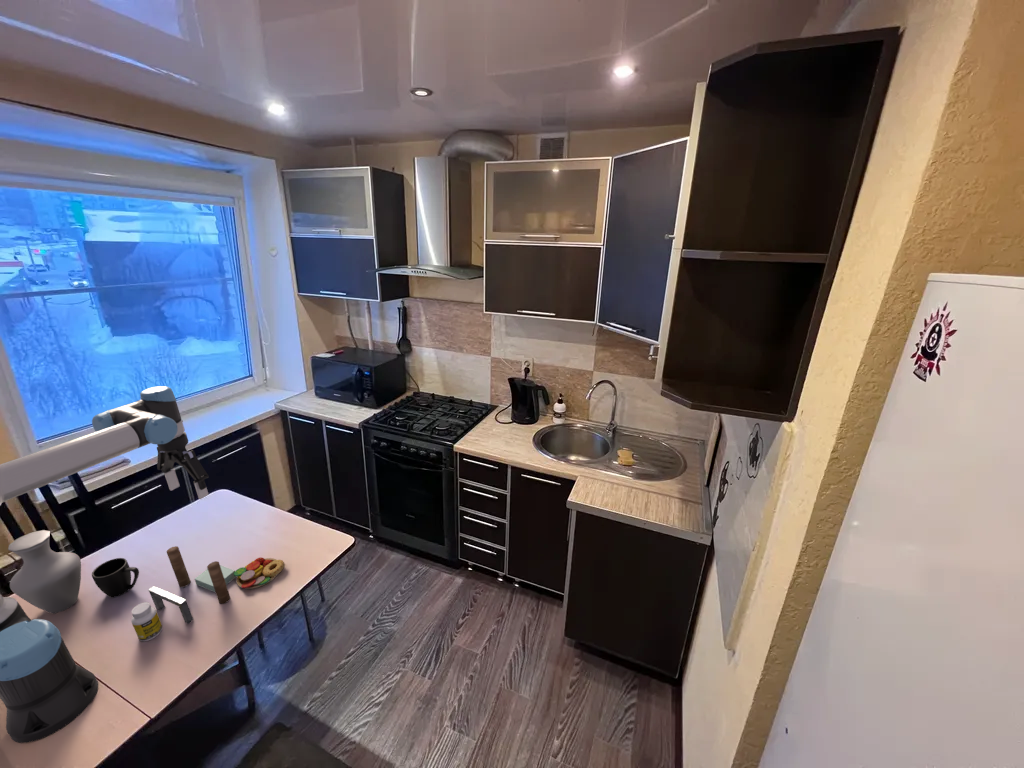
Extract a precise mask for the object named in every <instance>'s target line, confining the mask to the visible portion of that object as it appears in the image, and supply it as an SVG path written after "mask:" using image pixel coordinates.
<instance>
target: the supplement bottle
mask: <svg viewBox="0 0 1024 768" xmlns="http://www.w3.org/2000/svg"><path fill="white" fill-rule="evenodd" d="M157 611H158V610H157V609H156V607H152V606H151V604H150V603H149V602H146V601H145V602H141V603H139V604H136V606H134V607H133V608H132V609H131V615H132V617H131V618H130V619H131V620H130V621H131V624H132V627H133V628H134V629H133V630H134V632H135V633H136V636H137V639H138V640H139V641H141V642H147V641H150V640H151V641H152V640H153V639H154V638H156V637H157V636H159V634H160V633H161V632H162V631H163V625H162V622H161V618H160V617H159V614H158V612H157Z"/></svg>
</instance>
